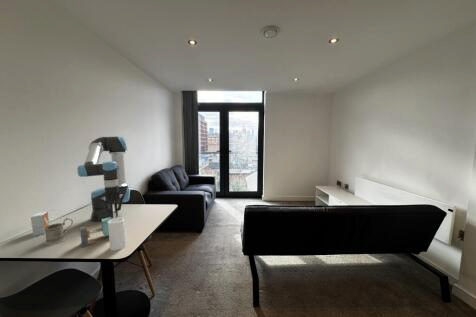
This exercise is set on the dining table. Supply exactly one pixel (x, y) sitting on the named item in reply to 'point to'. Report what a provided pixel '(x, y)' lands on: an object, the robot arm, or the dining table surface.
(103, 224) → the sleeve
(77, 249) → the dining table surface
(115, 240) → the cup
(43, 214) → the small box
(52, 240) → the mug
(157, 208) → the dining table surface
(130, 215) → the dining table surface
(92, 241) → the rail
